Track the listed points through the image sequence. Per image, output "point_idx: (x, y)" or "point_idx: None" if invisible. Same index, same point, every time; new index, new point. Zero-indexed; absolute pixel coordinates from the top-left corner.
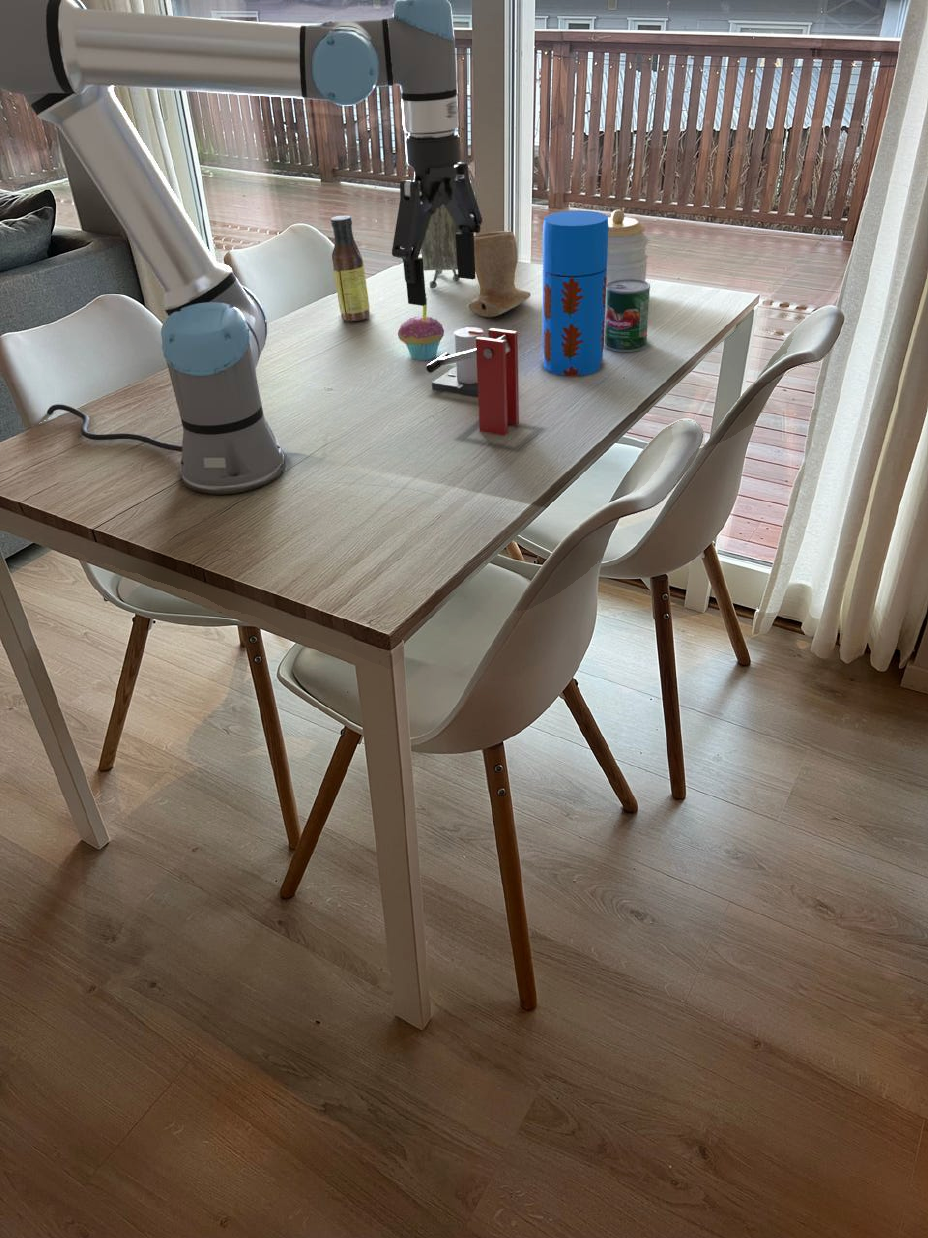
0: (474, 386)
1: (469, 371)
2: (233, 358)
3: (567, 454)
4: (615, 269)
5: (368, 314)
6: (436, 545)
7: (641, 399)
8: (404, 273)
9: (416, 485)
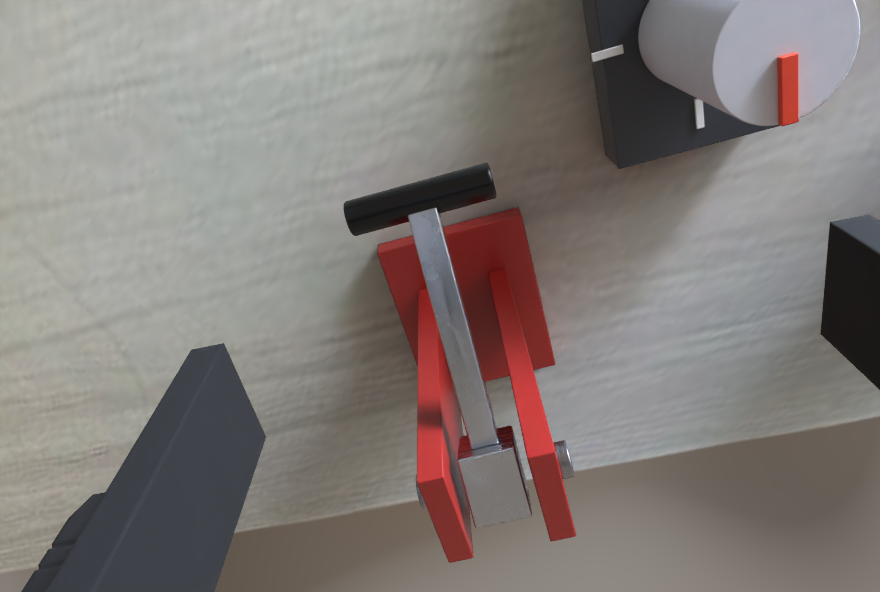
0: (634, 94)
1: (661, 73)
2: None
3: None
4: None
5: None
6: (41, 508)
7: (833, 419)
8: (44, 556)
9: (135, 336)
